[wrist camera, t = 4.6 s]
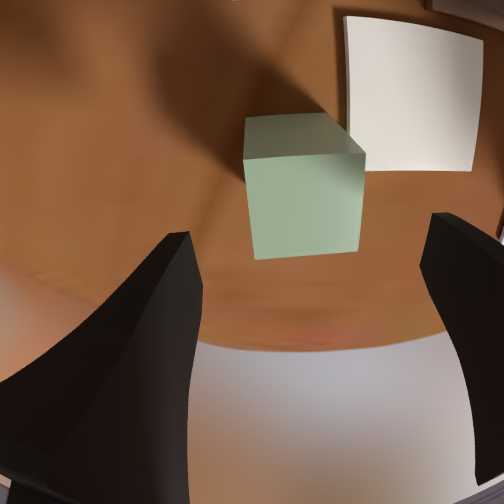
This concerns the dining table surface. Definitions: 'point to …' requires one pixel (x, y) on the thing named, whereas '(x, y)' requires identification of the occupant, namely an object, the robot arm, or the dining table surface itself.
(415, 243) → the dining table surface
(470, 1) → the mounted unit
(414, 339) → the dining table surface
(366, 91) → the plate
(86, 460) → the robot arm
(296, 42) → the dining table surface
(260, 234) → the sage part
